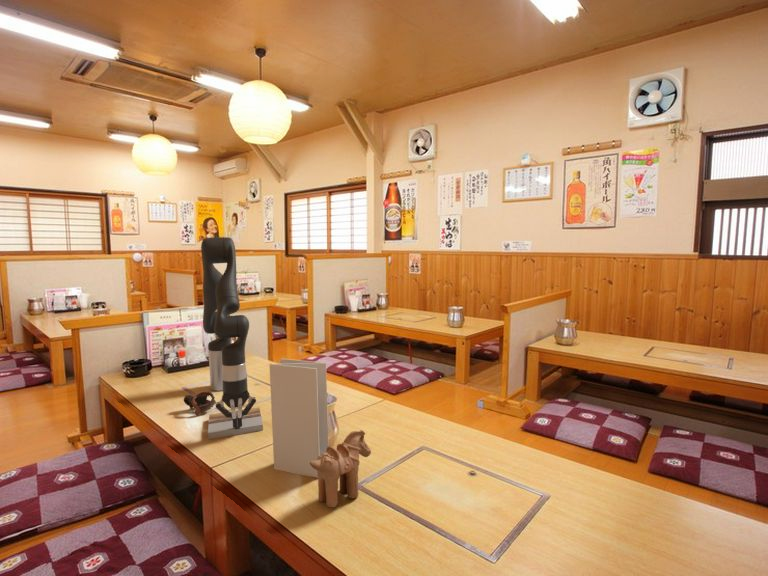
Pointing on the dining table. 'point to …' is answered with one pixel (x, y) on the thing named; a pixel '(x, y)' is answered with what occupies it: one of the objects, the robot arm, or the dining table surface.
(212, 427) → the slate plank
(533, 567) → the dining table surface
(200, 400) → the pottery mug
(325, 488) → the figurine
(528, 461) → the dining table surface
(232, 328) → the robot arm
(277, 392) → the brochure
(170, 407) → the dining table surface
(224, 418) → the glossy brown slab
